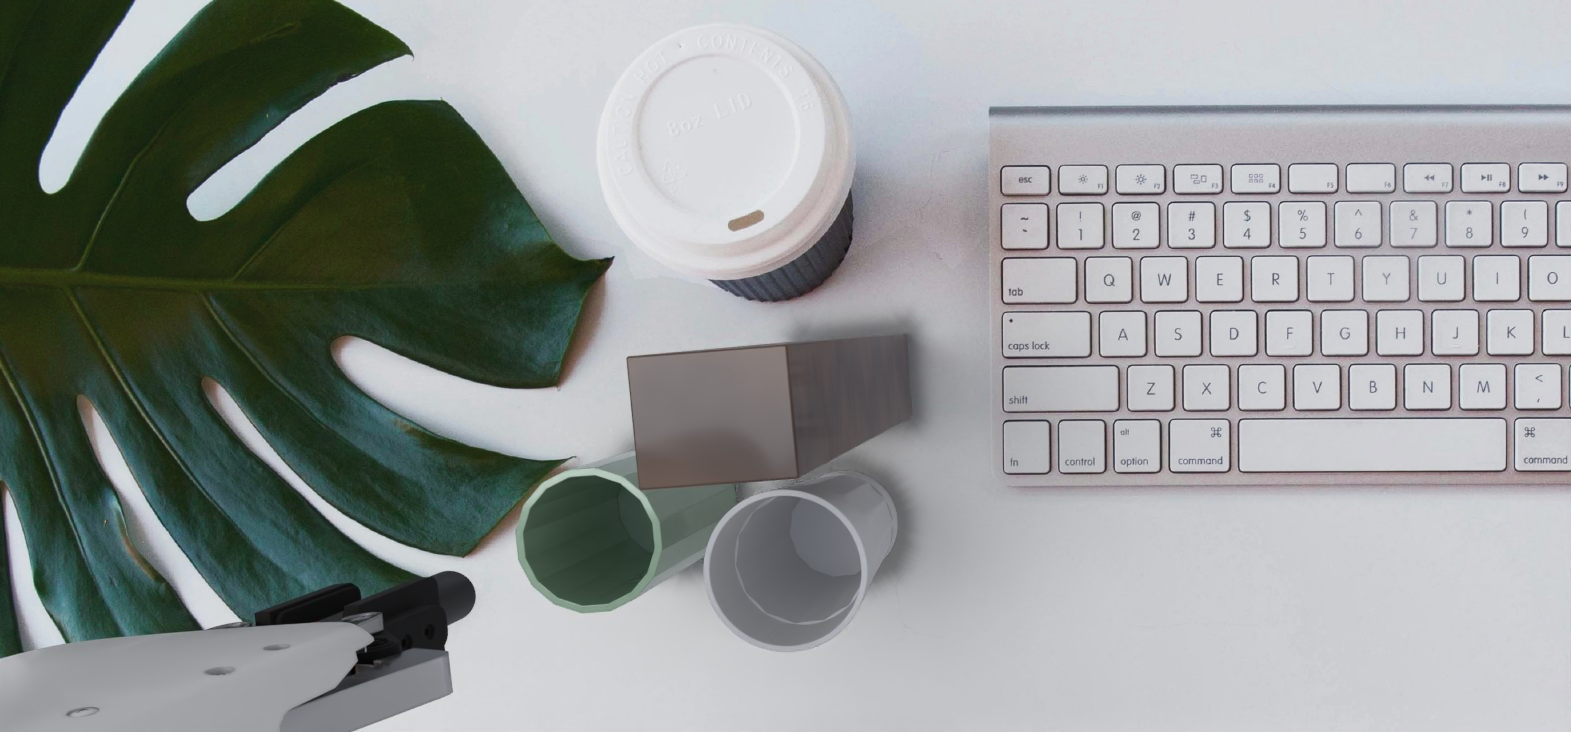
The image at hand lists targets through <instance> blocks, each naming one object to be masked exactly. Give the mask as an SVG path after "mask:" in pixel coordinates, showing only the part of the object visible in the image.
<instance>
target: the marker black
mask: <svg viewBox="0 0 1571 732" xmlns="http://www.w3.org/2000/svg"><path fill="white" fill-rule="evenodd" d="M429 577H434V578H435V579H436V581H437V583H438V591H439V600H440V606H441V607H442V608H443V609H444V610H445V612H446V617H447V625H448V626H450V625H452V624H455V623H456V622H458V621H461V620H463V619H464V618H466V617H467V616H468V615H470V614H471V612H472V611H473V609H474V607H475V605H476V600H477V594H476V589H475V586H474V584H473V582H472V581H471V580H470V579H469V577H467V576H466V575H465V574H463V573H461V572H458V571H454V570H444V571H439V572H437V573H435V574H432V575H430V576H429ZM342 614H343V611H342V612H340V613H337V614H335V615H332V616H330V617H327V618H325V619H322V620H320V621H317V622H313V623H320V622H334V621H336V620H339V619H341V618H342Z"/></svg>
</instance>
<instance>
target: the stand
mask: <svg viewBox="0 0 1571 732" xmlns="http://www.w3.org/2000/svg"><path fill="white" fill-rule="evenodd" d="M625 360H626V361H625V362H626V371H627V378H628V379H627V381H628V390H629V402H630V411H631V420H632V421H631V422H632V431H633V442H634V450H635V453H636V463H637V473H638V484H639V489H640V490H654V489H668V488H681V487H694V486H707V485H721V484H734V485H735V484H744V483H746V484H747V483H757V482H759V483H760V482H772V481H784V480H785V481H786V480H799V479H800V478H802V477H803V476H806V475H807V474H809V473H811V472H814V471H815V470H816V469H819V468H820V467H822V466H824V465H826V464H827V463H829V462H831V461H833V460H835V459H837V458H839V457H840V456H842V455H845V454H846V453H848V452H850V451H852V450H853V449H855V448H857V447H859V446H861V445H863V444H865V443H867V442H869V441H870V440H872V439H874V438H875V437H878V436H880V435H881V434H883V433H885V432H887V431H889V430H890V429H892V428H895V427H896V426H898V425H900V424H901V423H904V422H905V421H907V420H909V419H911V418H913V417H914V409H913V397H912V387H911V386H912V385H911V374H910V361H909V349H908V338H907V333H906V332H898V333H884V334H870V335H869V334H868V335H858V336H846V337H845V336H843V337H832V338H831V337H830V338H819V339H806V340H805V339H804V340H795V341H793V340H792V341H783V342H771V343H759V344H749V345H739V346H727V347H716V348H705V349H693V350H684V351H683V350H682V351H673V352H672V351H671V352H661V353H649V354H637V355H628V356H627V357H626V358H625Z"/></svg>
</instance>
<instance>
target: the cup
mask: <svg viewBox="0 0 1571 732" xmlns="http://www.w3.org/2000/svg"><path fill="white" fill-rule="evenodd" d="M898 519H899V518H898V513H897V509H896V506H895V504H894V501H893V499H892V497H891V496H890V494H889V492H888V491H887V490H886V489H885V488H884V486H882V485H881V484H880V483H879V482H878V481H876V480H875V479H874V478H872V477H870V476H868V475H866V474H865V473H861V472H858V471H853V470H835V471H830V472H828V473H824V474H822V475H819V476H818V477H815V478H812V479H808V480H804V481H801V482H797V483H794V484H791V485H787V486H782V487H778V488H774V489H770V490H766V491H761V492H759V493H756V494H753V495H751V496H748V497H747V498H745V499H743V500H741V501H740V502H737V505H736V506H734V507H733V508H732V509H731V510H730V511H728V512H727V513H726V514H725V516H724V517H723V518H722V519H721V520H720V522H719V523H718V524H717V526H716V527H715V529H714V531H713V533H712V535H711V537H710V539H709V542H708V545H707V548H706V552H705V557H703V581H704V588H705V592H706V594H707V597H708V600H709V603H710V605H711V607H712V609H713V611H714V612H715V614H716V615H717V617H718V618H719V620H720V621H721V623H723V625H724V626H726V628H727V629H728V630H730V631H731V632H732V633H733V634H734V635H735V636H737V637H738V638H739V639H741V640H742V641H744V642H746V643H748V644H749V645H752V646H754V647H757V648H760V649H763V650H766V651H771V652H775V653H776V652H778V653H797V652H803V651H807V650H810V649H814V648H817V647H819V646H821V645H823V644H825V643H827V642H829V641H831V640H832V639H834V638H836V637H837V636H838V635H839V634H840V633H841V632H843V630H844V629H846V628H847V626H849V624H850V623H851V622H852V621H853V619H854V618H855V616H856V615H857V613H858V611H859V609H860V608H861V605H862V603H863V601H864V599H865V597H866V595H867V593H868V590H869V588H870V587H871V583H872V582H873V580H874V577H875V575H876V574H877V572H878V570H879V568H880V567H881V565H882V563H883V561H884V560H885V559H886V558H887V556H888V555H889V554H890V552H891V550H892V549H893V547H894V545H895V542H896V538H897V535H898V528H899V521H898Z"/></svg>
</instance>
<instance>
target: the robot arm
mask: <svg viewBox="0 0 1571 732" xmlns="http://www.w3.org/2000/svg"><path fill="white" fill-rule="evenodd" d="M361 592H362V591H361V589H360V587H359V586H357V585H356V584H355V583H353V582H342V583H333V584H331V585H327V586H324V587H323V588H320V589H316V590H314V591H311V592H308V593H305V594H303V595H300V596H297V597H294V598H292V599H289V600H287V601H284V602H280V603H278V604H274V605H272V606H270V607H267V608H264V609H261V610H258V611H256V612H254V613H253V614H254V623H255V626H253V622H252V621H249V620H247V621H245V620H244V621H236V622H230V623H224V624H220V625H216V626H213V627H210V628H206V629H203V630H191V631H190V630H189V631H178V632H175V631H174V632H163V633H153V634H151V633H150V634H139V635H129V636H128V635H127V636H116V637H106V638H98V639H88V640H82V641H74V642H68V643H67V642H66V643H61V644H56V645H51V646H50V645H49V646H45V647H41V648H36V649H32V650H28V651H25V652H20V653H16V654H12V655H8V656H5V657H1V658H0V732H356V731H358V730H361V729H364V728H365V727H368V726H371V725H374V724H376V723H379V722H383V721H385V720H387V719H390V718H393V717H395V716H398V715H400V714H404V713H406V712H408V711H411V710H414V709H416V708H419V707H422V706H424V705H427V704H429V703H433V702H435V701H438V700H440V699H442V698H445V697H447V696H450V695H452V693H454V688H453V680H452V672H451V662H450V653H449V650H446V647H445V646H446V643H447V642H448V636H449V627H448V626H449V625H447V617H446V612H445V610H444V609H443V608H442V607H441V606H440V600H439V591H438V583H437V581H436V579H435V578H434V577H430V576H422V577H414V578H412V579H410V580H407V581H404V582H402V583H400V584H397V585H394V586H391V587H389V588H387V589H385V590H382V591H379V592H376V593H374V594H371V595H369V596H366V597H364V598H362V593H361ZM342 611H343V614H342V618H341V619H339V620H336V621H334V622H320V623H313V622H317V621H320V620H322V619H325V618H327V617H330V616H332V615H335V614H337V613H340V612H342Z"/></svg>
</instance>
